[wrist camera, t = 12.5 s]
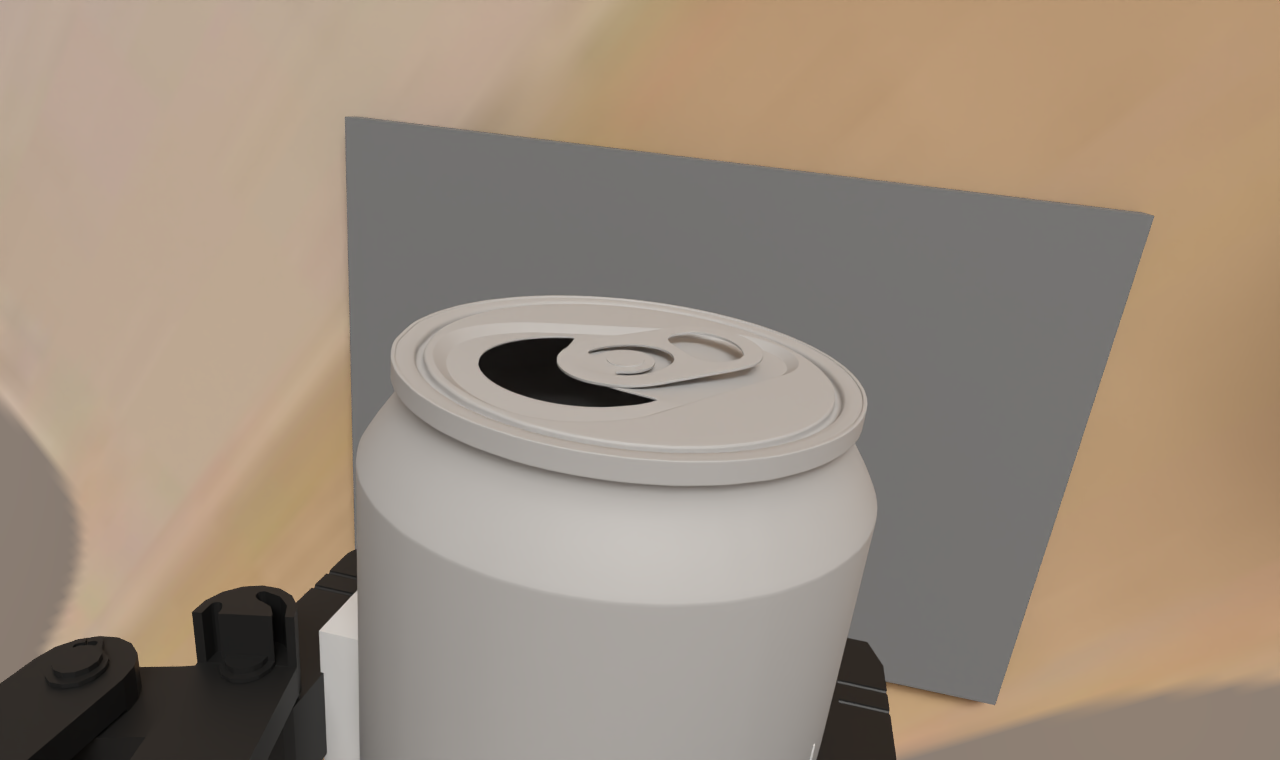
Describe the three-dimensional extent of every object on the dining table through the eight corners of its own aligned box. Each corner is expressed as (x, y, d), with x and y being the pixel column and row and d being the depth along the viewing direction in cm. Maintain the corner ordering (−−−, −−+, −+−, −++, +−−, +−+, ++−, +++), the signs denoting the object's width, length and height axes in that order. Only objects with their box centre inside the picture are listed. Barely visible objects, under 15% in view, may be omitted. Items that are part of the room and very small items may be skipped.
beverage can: (333, 911, 15) (309, 285, 10) (633, 794, 18) (706, 277, 14) (420, 1382, 10) (442, 523, 5) (821, 1103, 13) (1030, 423, 8)
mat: (365, 557, 26) (355, 566, 26) (357, 116, 21) (344, 116, 21) (990, 690, 23) (994, 705, 23) (1143, 212, 18) (1154, 216, 18)
